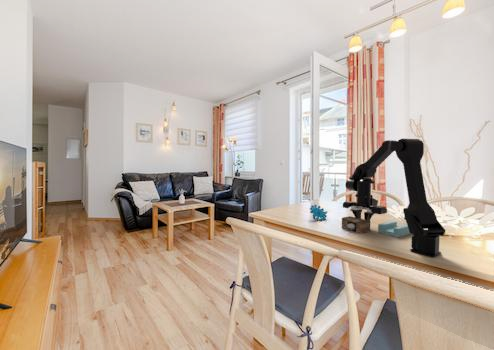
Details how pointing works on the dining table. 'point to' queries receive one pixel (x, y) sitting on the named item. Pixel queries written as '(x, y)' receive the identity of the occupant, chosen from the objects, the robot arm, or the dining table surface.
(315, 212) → the gear
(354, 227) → the axle
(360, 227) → the bearing block
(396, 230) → the cradle
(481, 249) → the dining table surface
